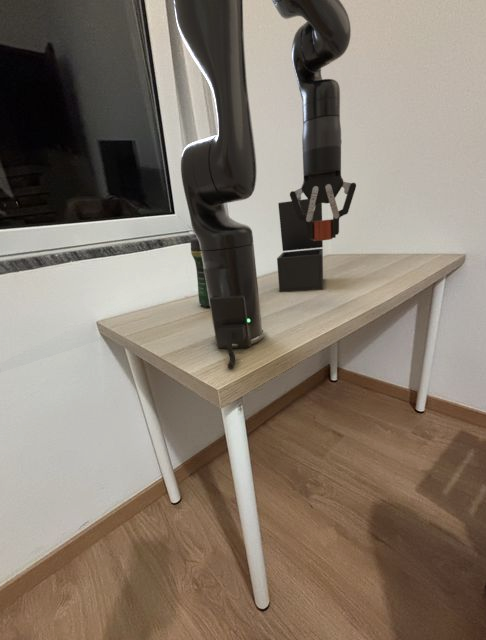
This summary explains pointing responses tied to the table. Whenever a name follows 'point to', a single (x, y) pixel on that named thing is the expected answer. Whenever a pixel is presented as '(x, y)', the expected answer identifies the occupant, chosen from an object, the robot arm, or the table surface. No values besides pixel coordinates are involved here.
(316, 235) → the red cylinder
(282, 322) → the table surface
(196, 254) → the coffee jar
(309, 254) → the black open box
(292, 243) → the lid
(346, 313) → the table surface
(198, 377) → the table surface
